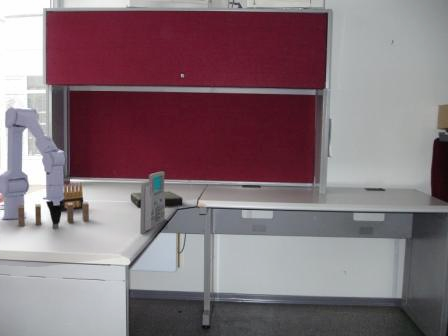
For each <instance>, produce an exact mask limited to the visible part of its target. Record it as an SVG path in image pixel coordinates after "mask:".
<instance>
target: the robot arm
mask: <svg viewBox="0 0 448 336" xmlns="http://www.w3.org/2000/svg"><path fill="white" fill-rule="evenodd" d="M4 114H5V115H4V121H5V122H4V124H5V125H4V126H5V128H6V129H7V152H6V153H7V154H6V155H7V156H6V157H7V159H6V161H7V170H6V171H4V172H3V173H2V174H0V194H1V196H2V197H3V214H2V215H3V216H2V220H14V219H17V220H18V206H19V205H24V206H25V195H27V192H29V189H30V183H29V177H28V174H27V173H25V172H24V171H23V132H24V131H25V130H26V129H27V130H29V132H30V133H31V136H33V137H34V138H35V142H34V144H35V146H36V148H37V150H38V151H39V153H40V154H41V156H42V159H41V161H42V165H43V168H44V169H43V170H44V172H45V175H46V176H45V183H46V186H45V191H46V193H45V194H46V196H43V197H42V200H47V201H46V202H45V203H46V206H47V208H48V210H49V213H50V219H51V221H52V225H53V224H60V222H61V217H62V213H63V211H62V210H63V208H64V206H65V204H62V203H63V199H64V186H65V183H64V167H65V166H66V164H67V162H68V161H67V160H68V156H67V154H66V152H65V151H64V150H61V149H60V148H58V146H56V144H55V142H54V140H53V139H52V137H51V136H50V135H46V134H45V131H44V129H43V127H42V126H41V123H40V122H39V120H40V115H39V113H38V111H37V109H35V108H30V107H29V108H26V107H15V106H10V107H8V108H7V110H6V111H5V113H4ZM26 215H27V212H24V219H26Z"/></svg>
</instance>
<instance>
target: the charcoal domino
mask: <svg viewBox="0 0 448 336" xmlns="http://www.w3.org/2000/svg"><path fill="white" fill-rule="evenodd" d="M59 224H60V223H58V224H53V223H52V229H53V230H57V229H59Z"/></svg>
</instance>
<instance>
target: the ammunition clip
mask: <svg viewBox="0 0 448 336" xmlns="http://www.w3.org/2000/svg"><path fill="white" fill-rule="evenodd" d="M83 196H84V195H83V184H82V182H80V183H79V184H78V182H76V184H74V182H72V184H71V183H70V182H69V183H68V185H67V183H64V199H63V203H62V204H65V206H64V208H63V210H62V212H67V203H73V211H75V210H81V209H82V202H84V197H83Z"/></svg>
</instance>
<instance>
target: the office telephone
mask: <svg viewBox="0 0 448 336" xmlns="http://www.w3.org/2000/svg"><path fill="white" fill-rule="evenodd" d="M165 174H166V173H165V171H158V172H154V173H151V174H149V175H148V181H144V182H143V181H142V182H141V186H140V189H141V190H140V193H141V208H140V228H139V229H140V231H139V232H140V233H139V234H145V233H146V232H148V231H149V230H151V229H152V228H155V226H157V225H159V224H160V223H161V222H163V221H165V219H166V207H165V193H164V192H165Z"/></svg>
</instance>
